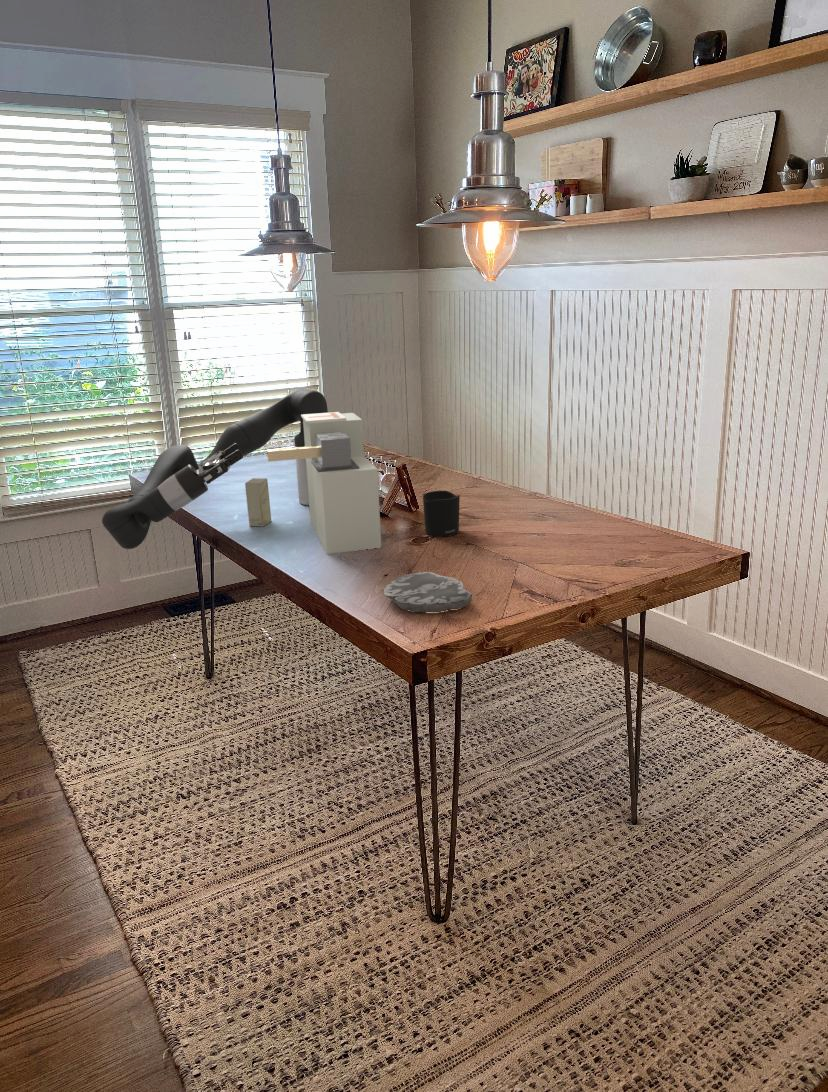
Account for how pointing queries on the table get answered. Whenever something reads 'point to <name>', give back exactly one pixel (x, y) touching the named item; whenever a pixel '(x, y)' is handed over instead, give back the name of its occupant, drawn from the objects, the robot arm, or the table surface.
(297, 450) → the mallet
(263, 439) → the robot arm
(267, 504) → the skincare box
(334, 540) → the stepped stand
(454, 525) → the pen holder
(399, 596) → the brain slice
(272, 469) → the table surface
